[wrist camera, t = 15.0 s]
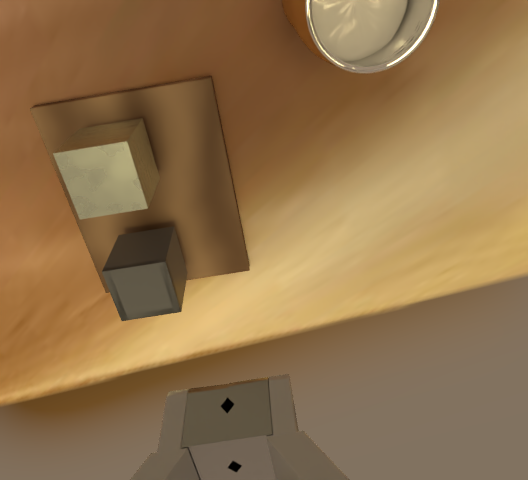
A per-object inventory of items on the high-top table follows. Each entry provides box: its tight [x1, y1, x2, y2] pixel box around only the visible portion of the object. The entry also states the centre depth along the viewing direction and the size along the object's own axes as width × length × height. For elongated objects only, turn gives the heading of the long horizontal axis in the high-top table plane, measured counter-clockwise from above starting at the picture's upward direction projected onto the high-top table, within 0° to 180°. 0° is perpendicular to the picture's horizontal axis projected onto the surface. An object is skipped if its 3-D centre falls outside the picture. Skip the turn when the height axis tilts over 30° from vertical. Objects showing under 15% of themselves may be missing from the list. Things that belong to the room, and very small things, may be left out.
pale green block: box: [53, 118, 160, 219], centre depth 35 cm, size 5×5×8 cm
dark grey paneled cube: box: [102, 226, 188, 321], centre depth 39 cm, size 5×5×6 cm
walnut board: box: [30, 76, 250, 293], centre depth 41 cm, size 15×19×1 cm
